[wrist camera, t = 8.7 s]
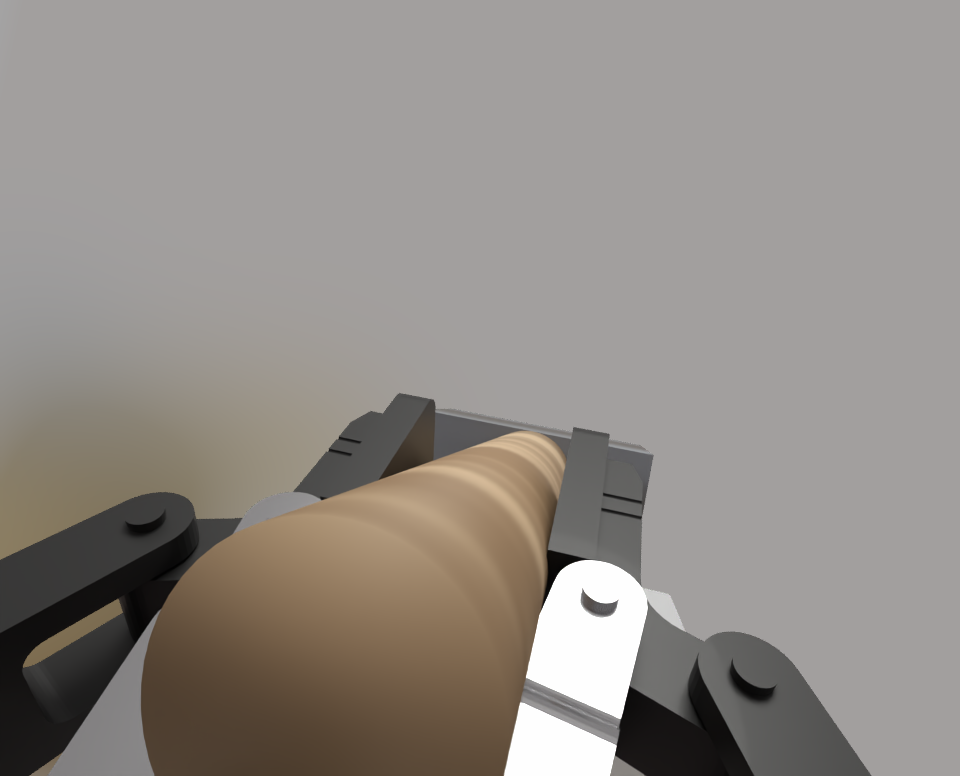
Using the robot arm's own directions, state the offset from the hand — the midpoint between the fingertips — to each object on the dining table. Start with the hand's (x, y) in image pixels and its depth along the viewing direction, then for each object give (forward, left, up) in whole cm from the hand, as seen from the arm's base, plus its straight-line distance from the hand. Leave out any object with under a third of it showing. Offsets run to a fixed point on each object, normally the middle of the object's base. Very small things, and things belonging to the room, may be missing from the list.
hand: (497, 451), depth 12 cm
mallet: (0, +3, -3) cm, 4 cm away
